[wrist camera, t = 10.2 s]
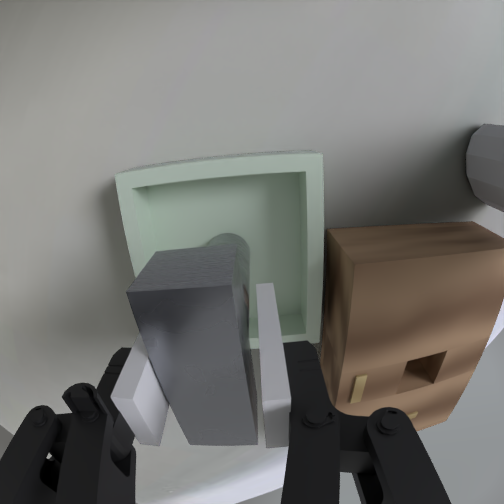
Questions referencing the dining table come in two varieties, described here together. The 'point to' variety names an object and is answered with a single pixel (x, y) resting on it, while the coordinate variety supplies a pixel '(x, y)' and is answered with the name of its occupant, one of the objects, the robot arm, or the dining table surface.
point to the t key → (201, 337)
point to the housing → (408, 315)
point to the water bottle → (487, 165)
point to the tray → (239, 223)
